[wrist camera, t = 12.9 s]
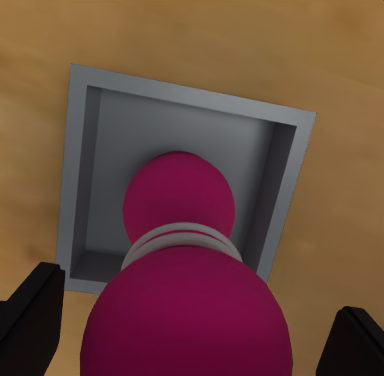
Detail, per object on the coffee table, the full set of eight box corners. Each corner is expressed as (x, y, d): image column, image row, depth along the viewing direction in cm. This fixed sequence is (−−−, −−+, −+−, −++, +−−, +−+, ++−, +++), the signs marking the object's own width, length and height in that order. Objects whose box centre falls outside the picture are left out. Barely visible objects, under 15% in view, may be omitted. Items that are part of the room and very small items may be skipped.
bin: (287, 109, 24) (316, 112, 19) (243, 276, 28) (258, 313, 23) (92, 70, 22) (70, 63, 18) (75, 253, 26) (53, 288, 22)
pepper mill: (135, 138, 23) (-52, 358, 4) (230, 149, 24) (477, 387, 4) (128, 227, 25) (-19, 662, 6) (216, 235, 26) (342, 650, 7)
